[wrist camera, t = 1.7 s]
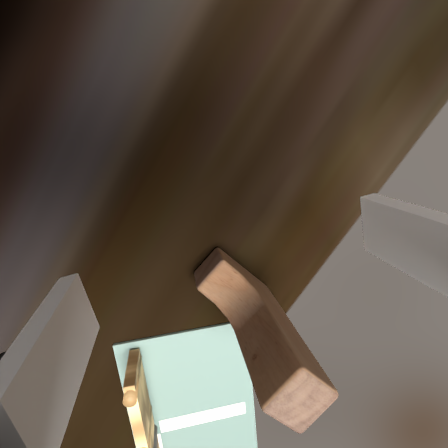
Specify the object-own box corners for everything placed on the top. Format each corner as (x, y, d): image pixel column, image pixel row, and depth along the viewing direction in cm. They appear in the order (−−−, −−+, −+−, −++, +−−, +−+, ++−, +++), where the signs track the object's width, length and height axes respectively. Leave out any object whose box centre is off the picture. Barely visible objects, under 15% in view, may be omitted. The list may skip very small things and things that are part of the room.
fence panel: (155, 423, 42) (153, 475, 35) (144, 425, 42) (140, 478, 35) (140, 348, 38) (134, 391, 32) (128, 350, 38) (120, 393, 32)
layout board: (149, 502, 46) (149, 505, 46) (113, 343, 38) (112, 346, 38) (259, 473, 49) (259, 476, 48) (246, 318, 41) (247, 320, 40)
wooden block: (192, 272, 38) (213, 383, 21) (216, 245, 37) (258, 335, 20) (244, 311, 40) (301, 438, 23) (267, 286, 40) (342, 396, 23)
